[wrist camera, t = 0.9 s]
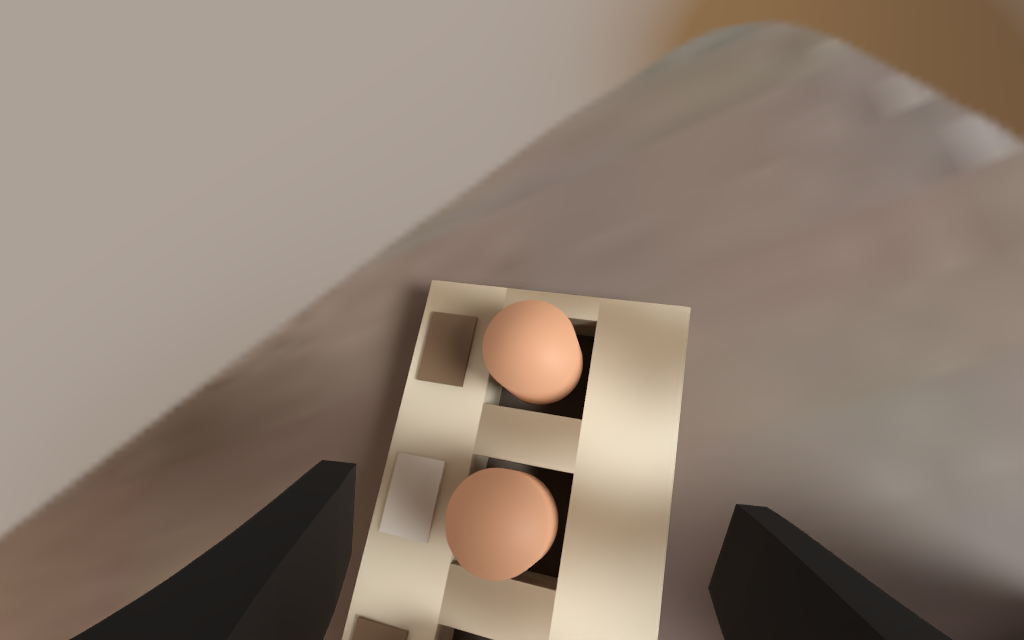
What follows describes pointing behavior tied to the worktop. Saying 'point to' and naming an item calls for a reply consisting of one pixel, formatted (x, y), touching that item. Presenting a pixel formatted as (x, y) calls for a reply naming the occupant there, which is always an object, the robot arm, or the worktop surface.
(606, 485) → the button board
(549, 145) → the worktop surface
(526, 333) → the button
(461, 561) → the button mid
